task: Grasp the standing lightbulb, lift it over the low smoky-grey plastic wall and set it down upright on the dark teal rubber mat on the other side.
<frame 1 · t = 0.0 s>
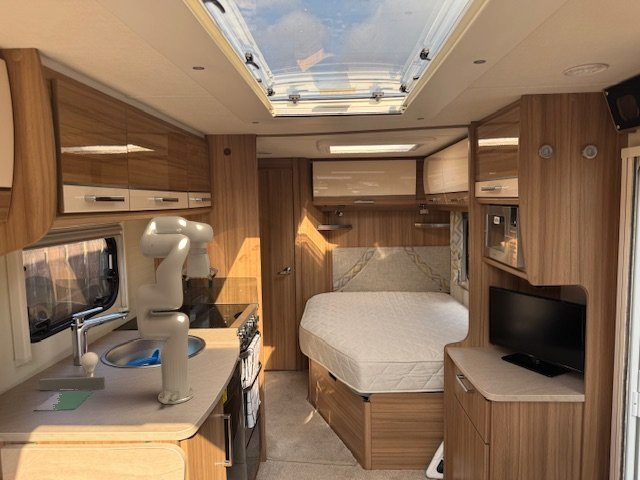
hand: (199, 288, 200), 31 cm above the table, tool pointing down, fingers open, 9 cm apart
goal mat: (64, 401, 157), on the table
low wall: (73, 389, 166), on the table
lightbulb: (90, 378, 176), on the table
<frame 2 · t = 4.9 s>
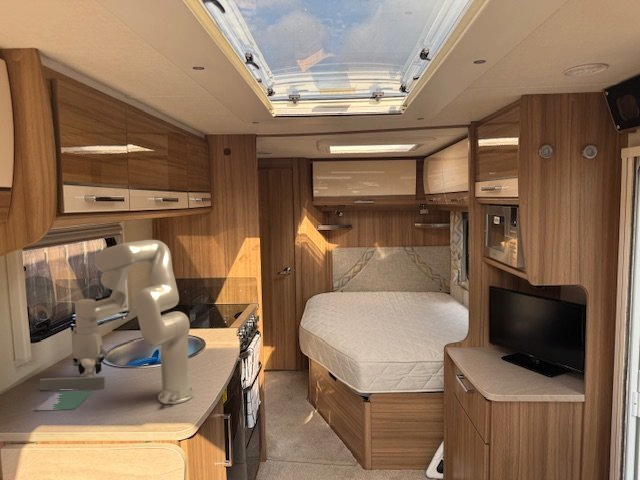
hand: (90, 372, 176), 3 cm above the table, tool pointing down, fingers closed on lightbulb, 5 cm apart
lightbulb: (90, 378, 176), on the table, touching gripper
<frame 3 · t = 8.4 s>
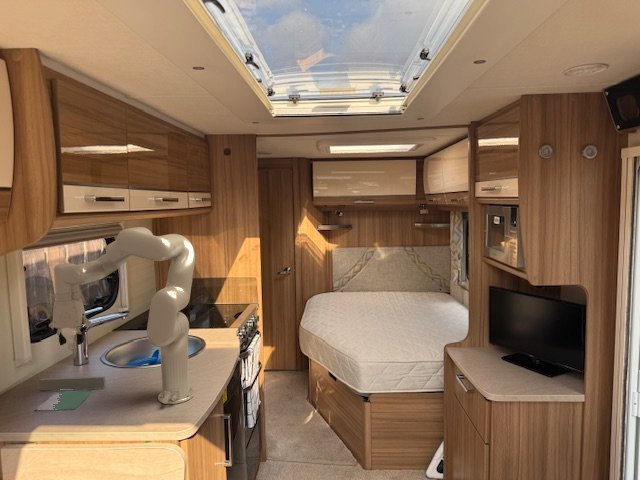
hand: (71, 343, 162), 19 cm above the table, tool pointing down, fingers closed on lightbulb, 5 cm apart
lightbulb: (72, 350, 162), point 16 cm above the table, touching gripper
when the fingers open (4 cm above the table, at t = 12.2 s): lightbulb drops 1 cm, resting on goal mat.
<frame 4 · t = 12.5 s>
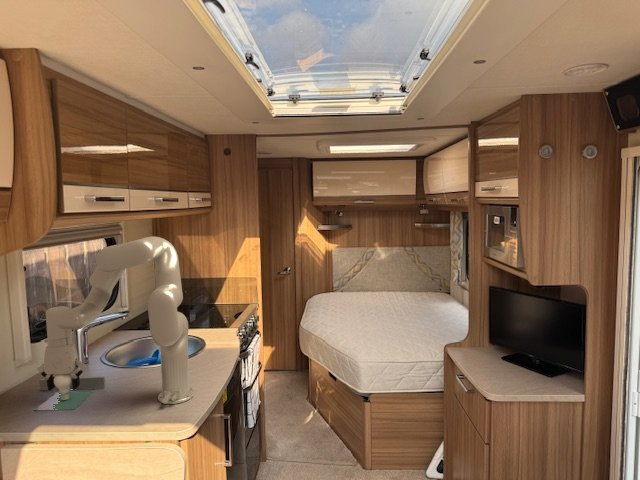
hand: (63, 388, 156), 5 cm above the table, tool pointing down, fingers open, 8 cm apart
lightbulb: (65, 400, 156), resting on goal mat
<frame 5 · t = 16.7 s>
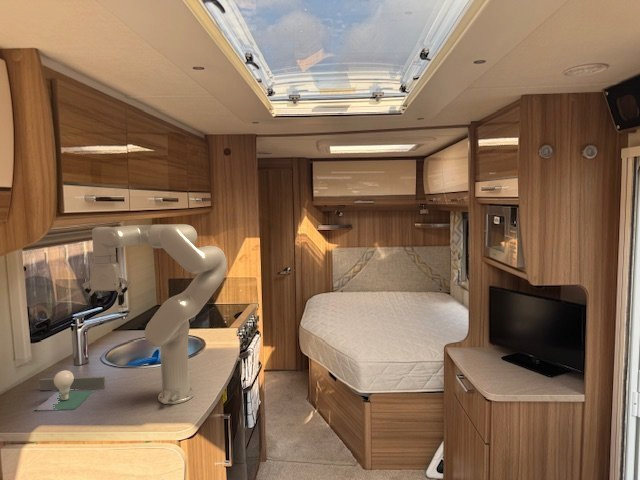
hand: (108, 304, 162), 33 cm above the table, tool pointing down, fingers open, 9 cm apart
nothing on the table moved.
at the end: lightbulb inside the target area on the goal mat (0.3 cm from its centre), point 0.2 cm above the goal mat's base; lightbulb tilted 0°; the gripper is holding nothing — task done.
